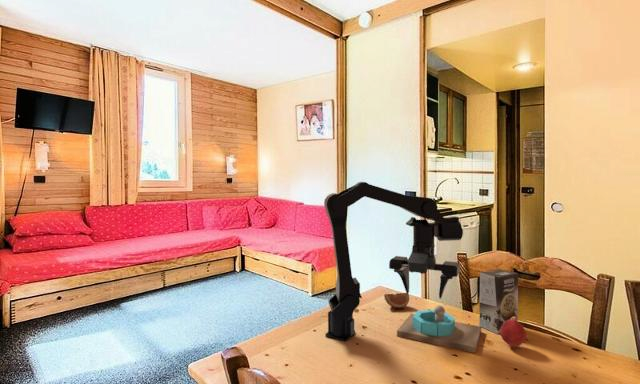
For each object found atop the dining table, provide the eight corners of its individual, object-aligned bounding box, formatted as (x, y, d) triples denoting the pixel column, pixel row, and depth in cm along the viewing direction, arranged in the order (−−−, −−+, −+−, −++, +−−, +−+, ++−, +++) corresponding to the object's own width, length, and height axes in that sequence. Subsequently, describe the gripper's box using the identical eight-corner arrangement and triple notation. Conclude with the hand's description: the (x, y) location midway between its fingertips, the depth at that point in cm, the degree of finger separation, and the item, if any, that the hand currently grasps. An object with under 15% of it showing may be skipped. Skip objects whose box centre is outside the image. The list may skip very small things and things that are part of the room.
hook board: (396, 335, 97) (396, 307, 97) (411, 318, 110) (411, 293, 109) (475, 353, 87) (475, 321, 87) (481, 331, 99) (481, 304, 99)
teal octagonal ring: (409, 330, 97) (409, 320, 97) (419, 317, 106) (419, 307, 106) (450, 339, 92) (450, 327, 92) (456, 324, 101) (456, 314, 101)
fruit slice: (386, 311, 115) (386, 296, 115) (381, 304, 122) (381, 290, 122) (411, 310, 116) (411, 295, 116) (405, 303, 123) (405, 289, 123)
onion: (501, 350, 89) (502, 319, 88) (498, 340, 94) (499, 311, 94) (528, 354, 87) (528, 322, 86) (523, 344, 92) (523, 314, 92)
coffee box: (498, 334, 98) (498, 277, 97) (478, 326, 103) (478, 271, 103) (518, 328, 102) (519, 272, 101) (498, 320, 108) (499, 268, 107)
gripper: (382, 243, 98) (382, 298, 98) (453, 249, 88) (453, 310, 89) (395, 237, 107) (395, 287, 108) (460, 242, 98) (460, 297, 98)
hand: (423, 295), depth 100 cm, fingers open, 9 cm apart
